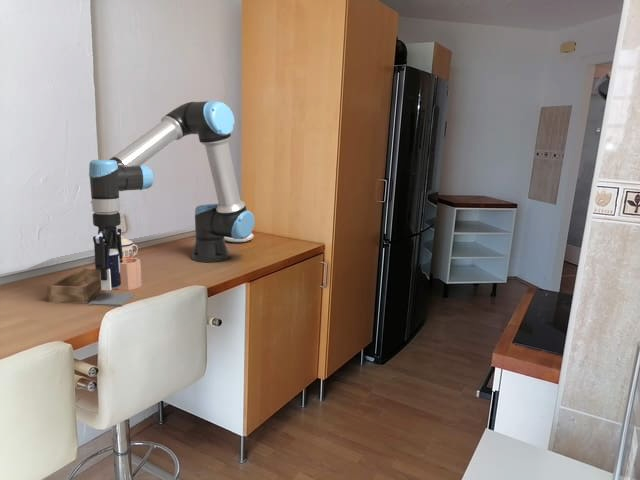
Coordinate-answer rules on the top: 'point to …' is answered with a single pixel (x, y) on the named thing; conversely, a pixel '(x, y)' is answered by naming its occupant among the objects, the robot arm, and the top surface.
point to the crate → (76, 287)
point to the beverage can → (114, 268)
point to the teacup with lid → (128, 248)
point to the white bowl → (239, 239)
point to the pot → (130, 274)
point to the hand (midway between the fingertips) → (111, 286)
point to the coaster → (112, 299)
